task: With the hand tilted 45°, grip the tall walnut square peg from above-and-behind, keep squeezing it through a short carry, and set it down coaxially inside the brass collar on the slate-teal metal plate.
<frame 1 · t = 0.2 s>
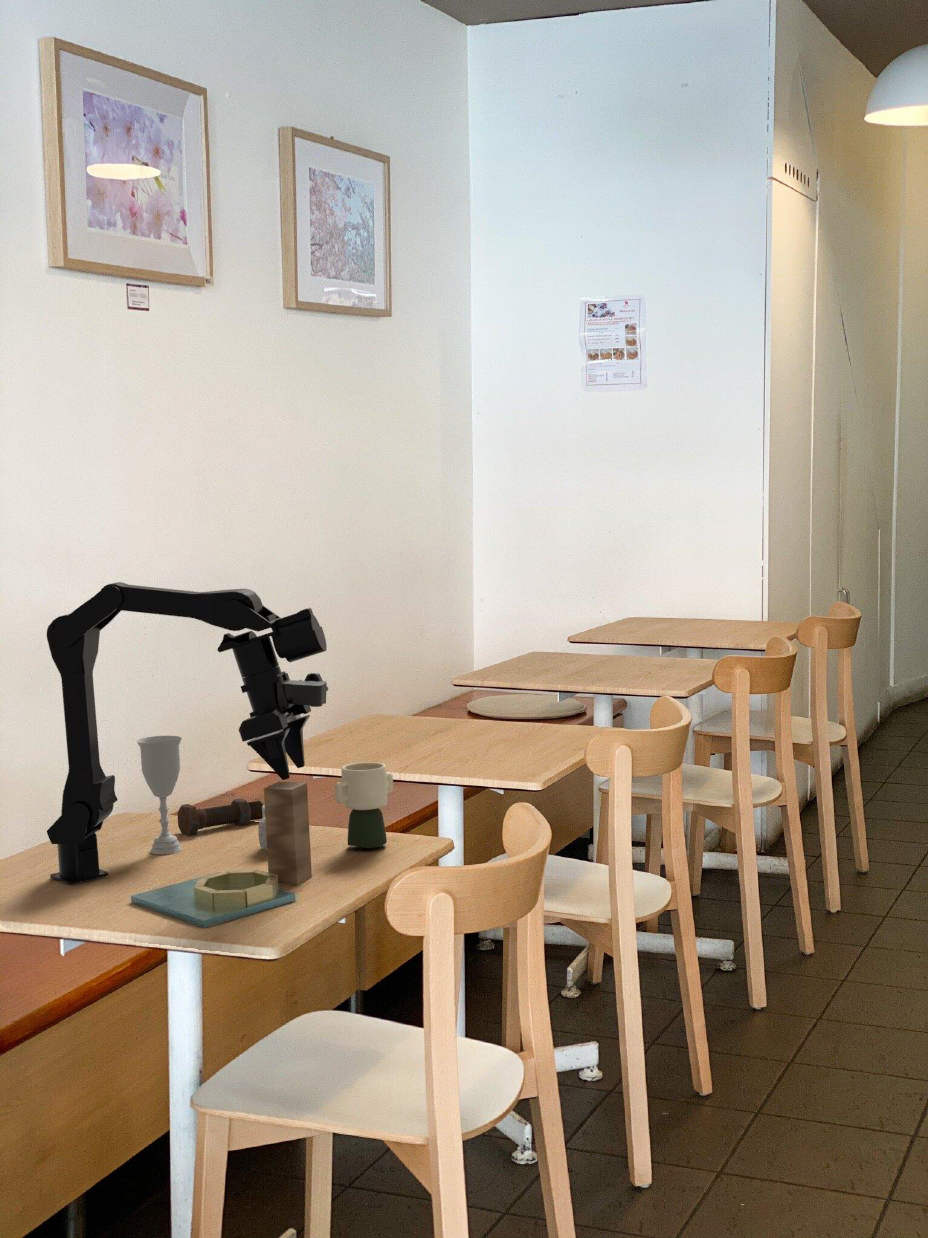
hand: (294, 773, 204), 15 cm above the table, tool tilted 15°, fingers open, 9 cm apart
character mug: (367, 848, 219), on the table
socket plate: (212, 901, 193), on the table
mug: (279, 850, 221), on the table
bolt: (225, 829, 237), on the table
chalice: (166, 851, 222), on the table
peg: (290, 880, 202), on the table
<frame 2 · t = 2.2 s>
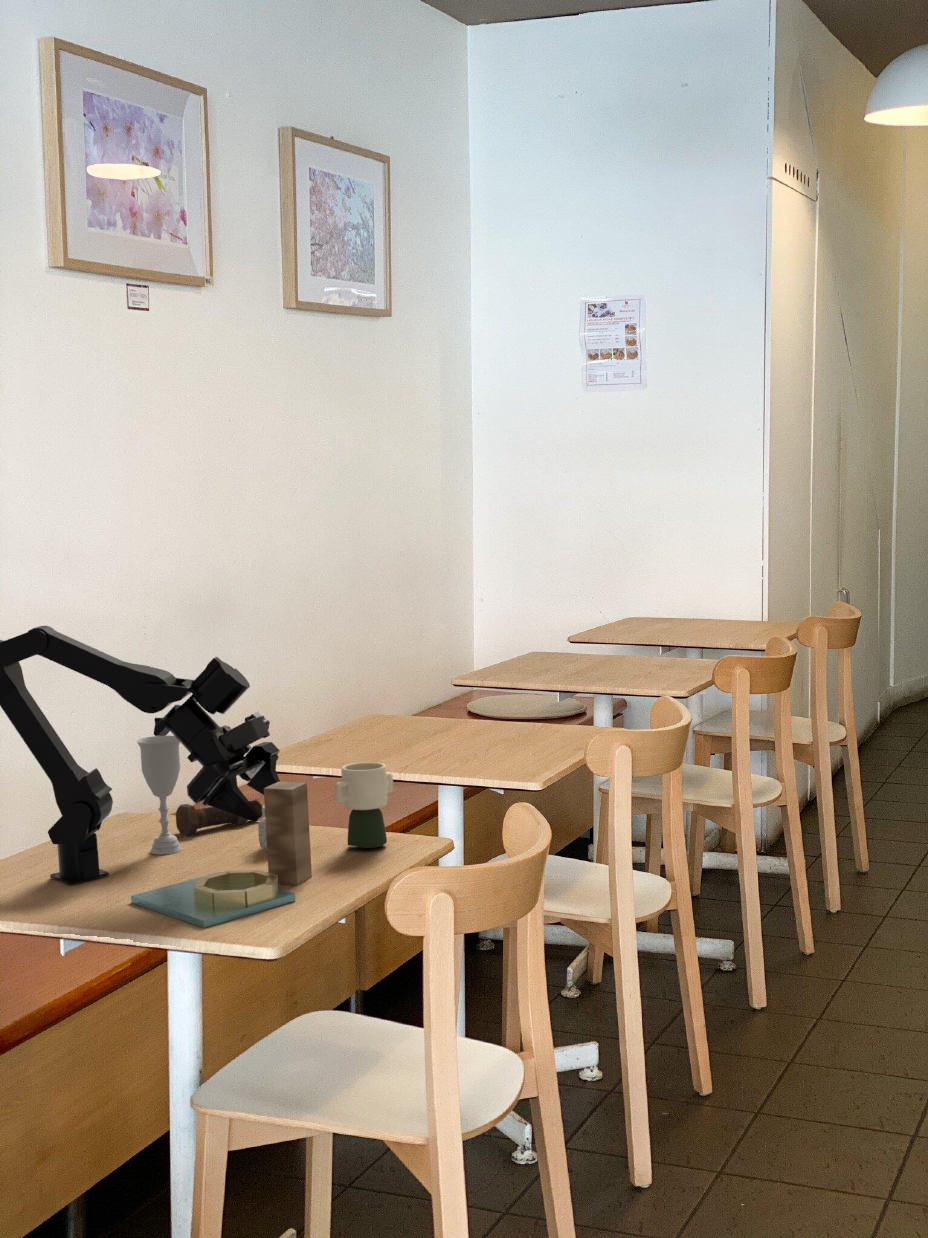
hand: (272, 812, 202), 10 cm above the table, tool tilted 45°, fingers open, 9 cm apart
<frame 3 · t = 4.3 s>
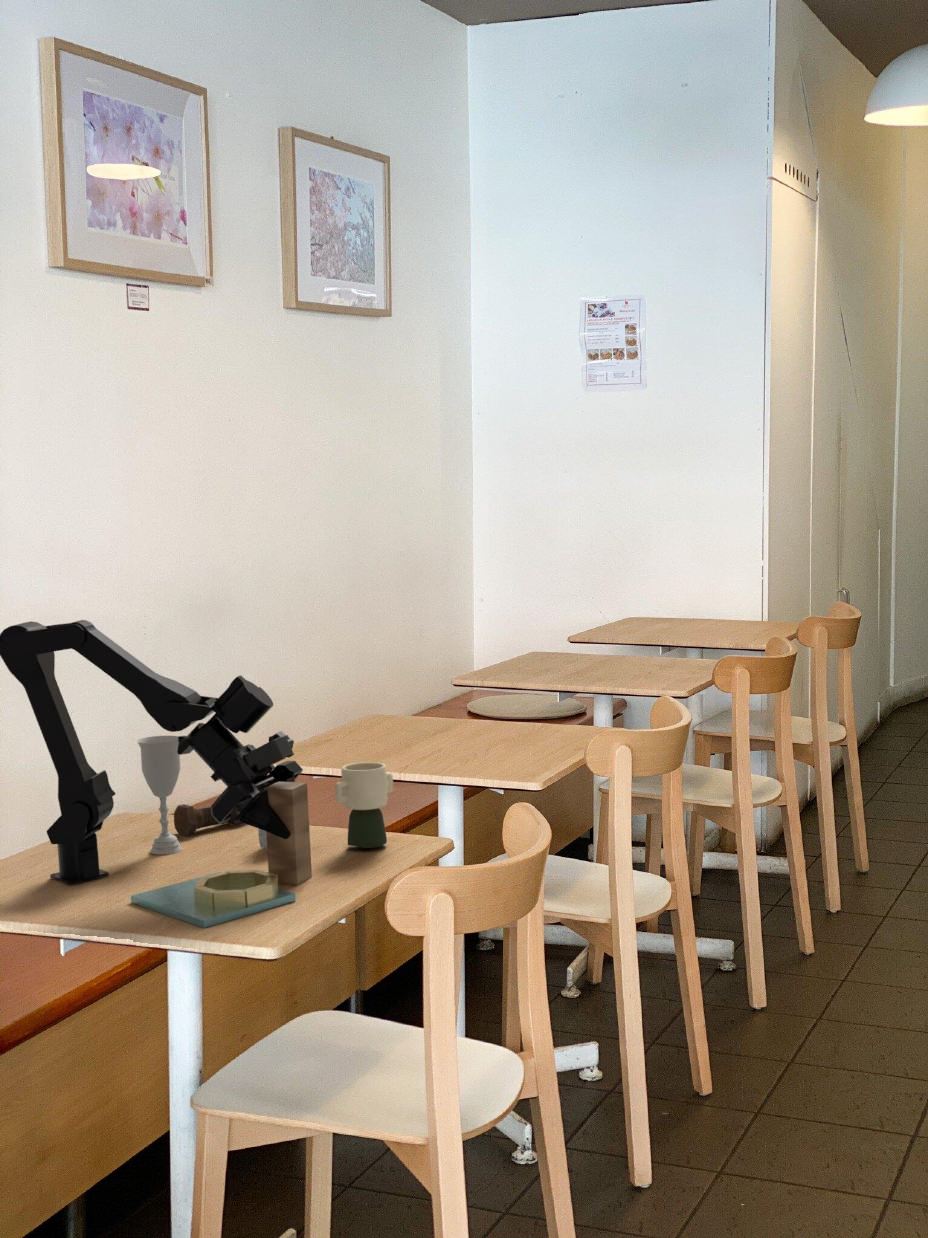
hand: (296, 832, 201), 7 cm above the table, tool tilted 45°, fingers closed on peg, 5 cm apart
peg: (290, 880, 202), on the table, touching gripper
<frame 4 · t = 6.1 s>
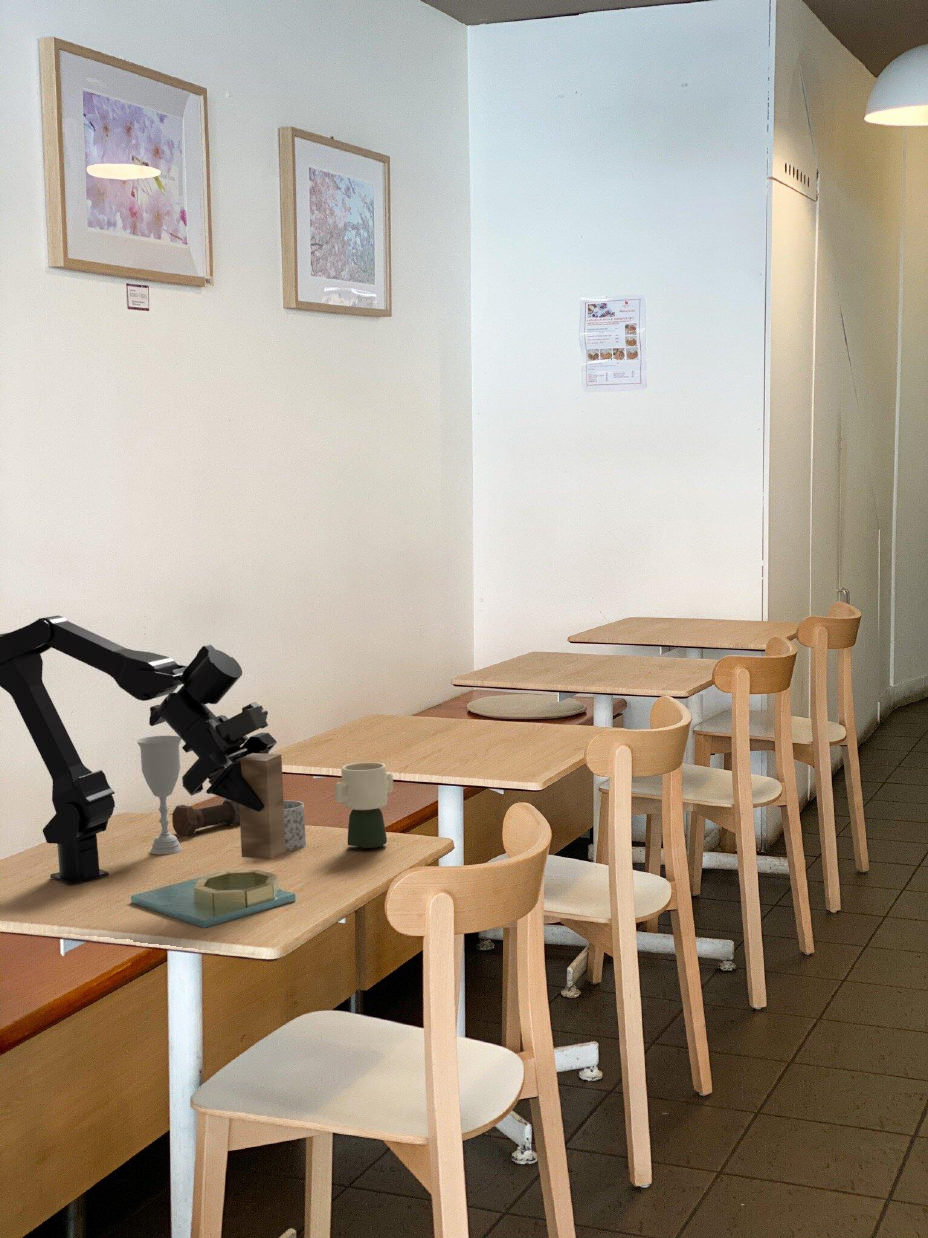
hand: (270, 805, 196), 12 cm above the table, tool tilted 45°, fingers closed on peg, 5 cm apart
peg: (263, 854, 197), point 5 cm above the table, touching gripper
when the fingers open (9 cm above the table, at t = 8.2 s): peg stays where it is, resting on socket plate.
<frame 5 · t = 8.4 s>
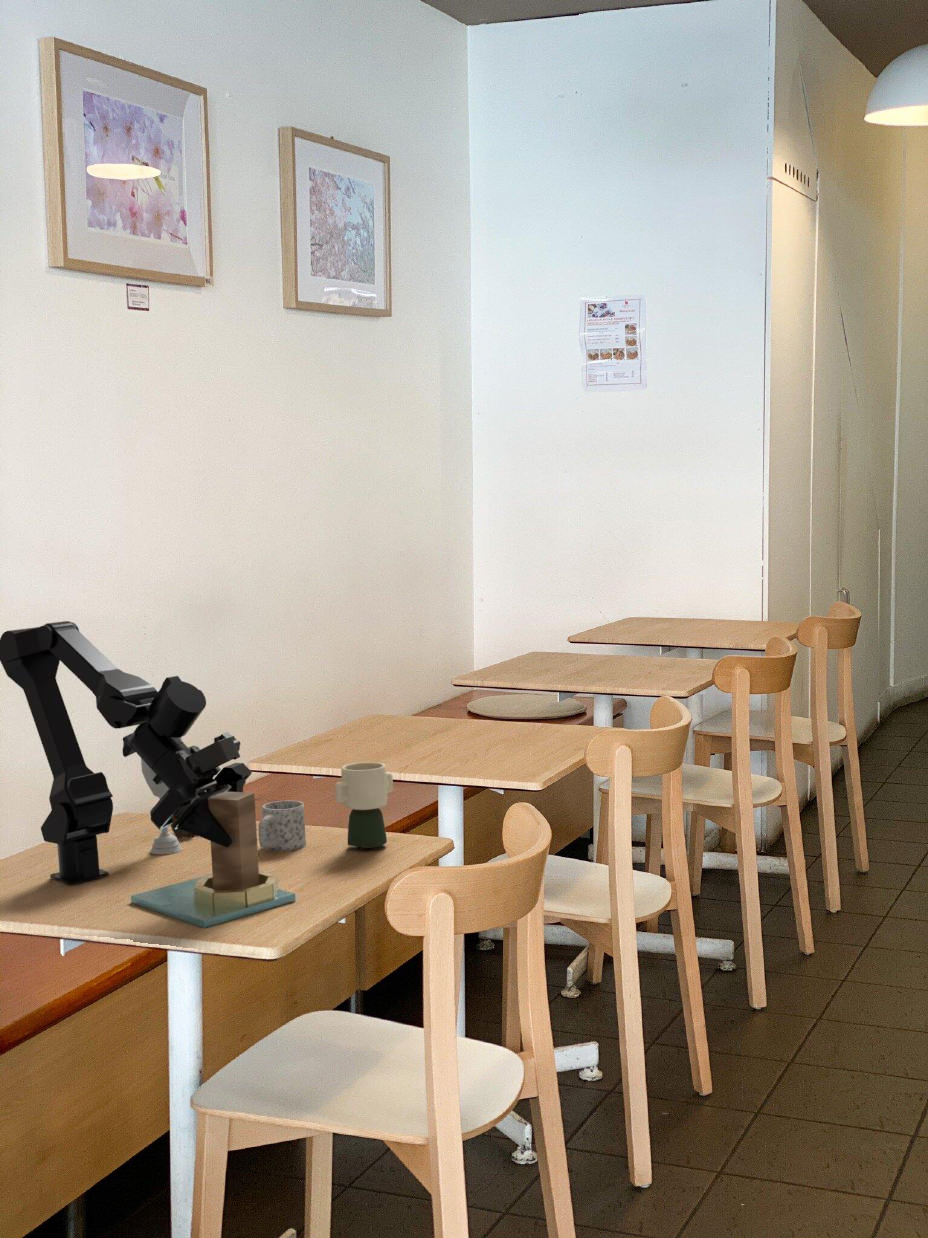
hand: (242, 839, 191), 9 cm above the table, tool tilted 45°, fingers open, 6 cm apart
peg: (237, 895, 192), point 1 cm above the table, touching socket plate
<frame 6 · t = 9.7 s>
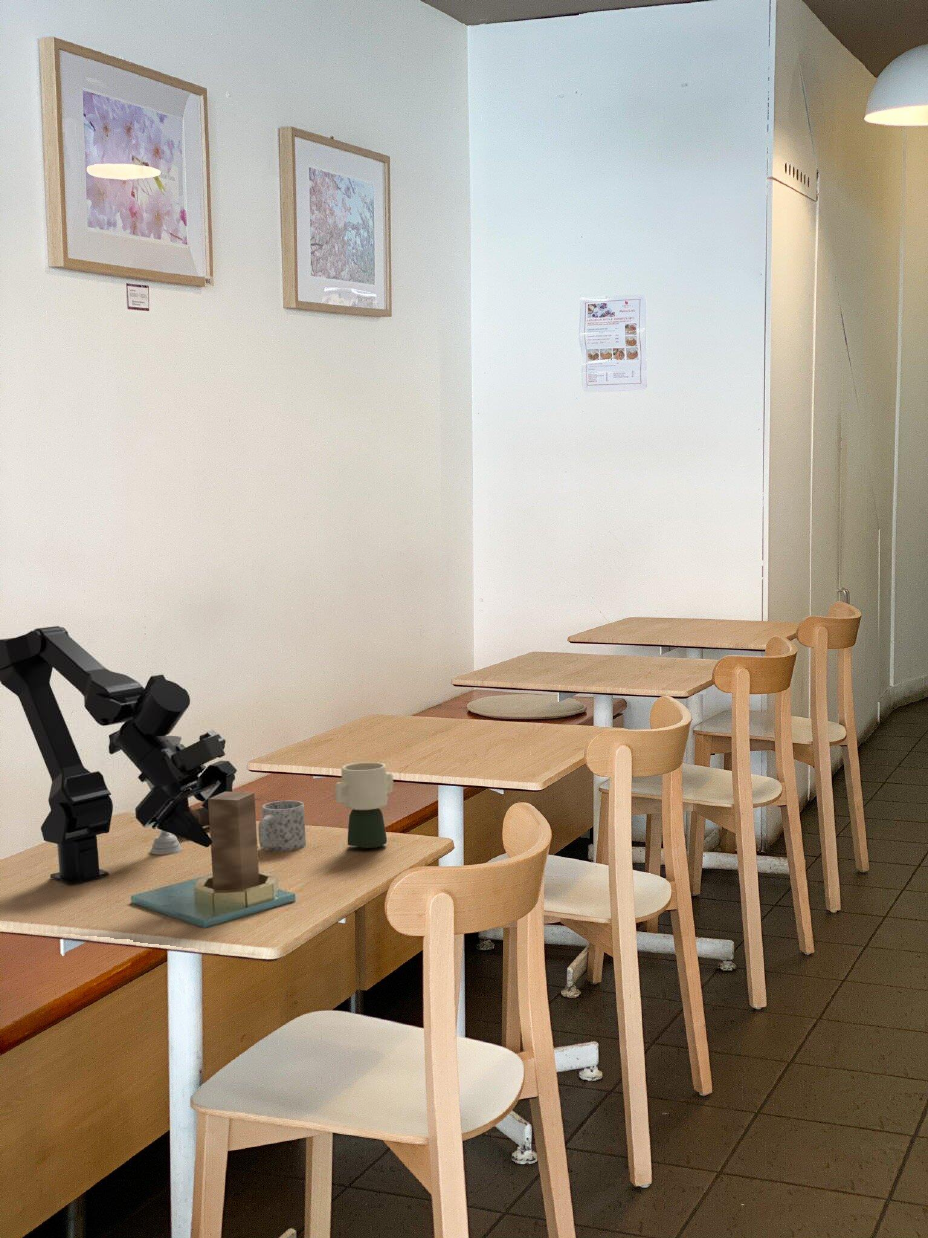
hand: (227, 836, 192), 9 cm above the table, tool tilted 45°, fingers open, 9 cm apart
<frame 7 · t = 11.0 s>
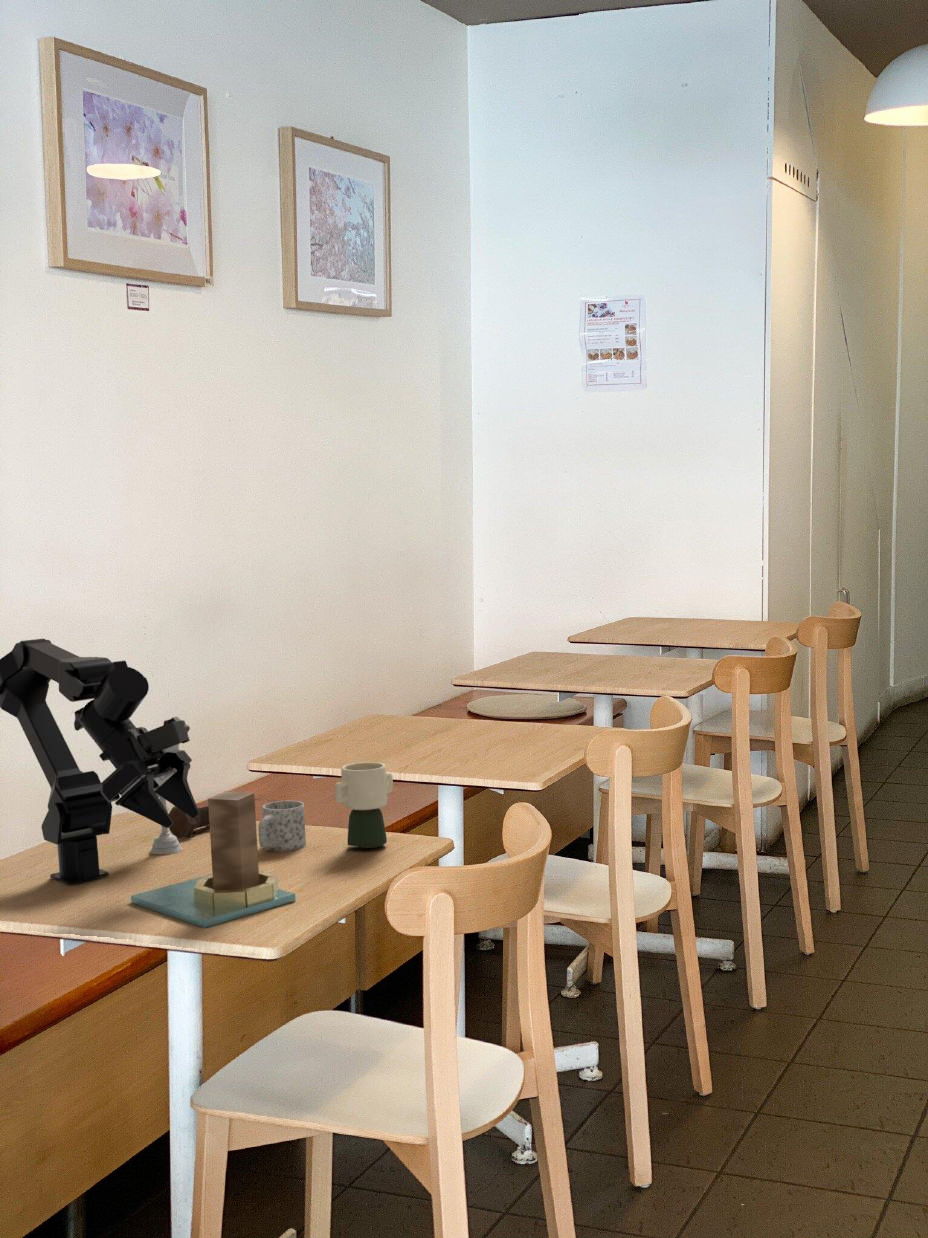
hand: (184, 821, 195), 11 cm above the table, tool tilted 40°, fingers open, 9 cm apart
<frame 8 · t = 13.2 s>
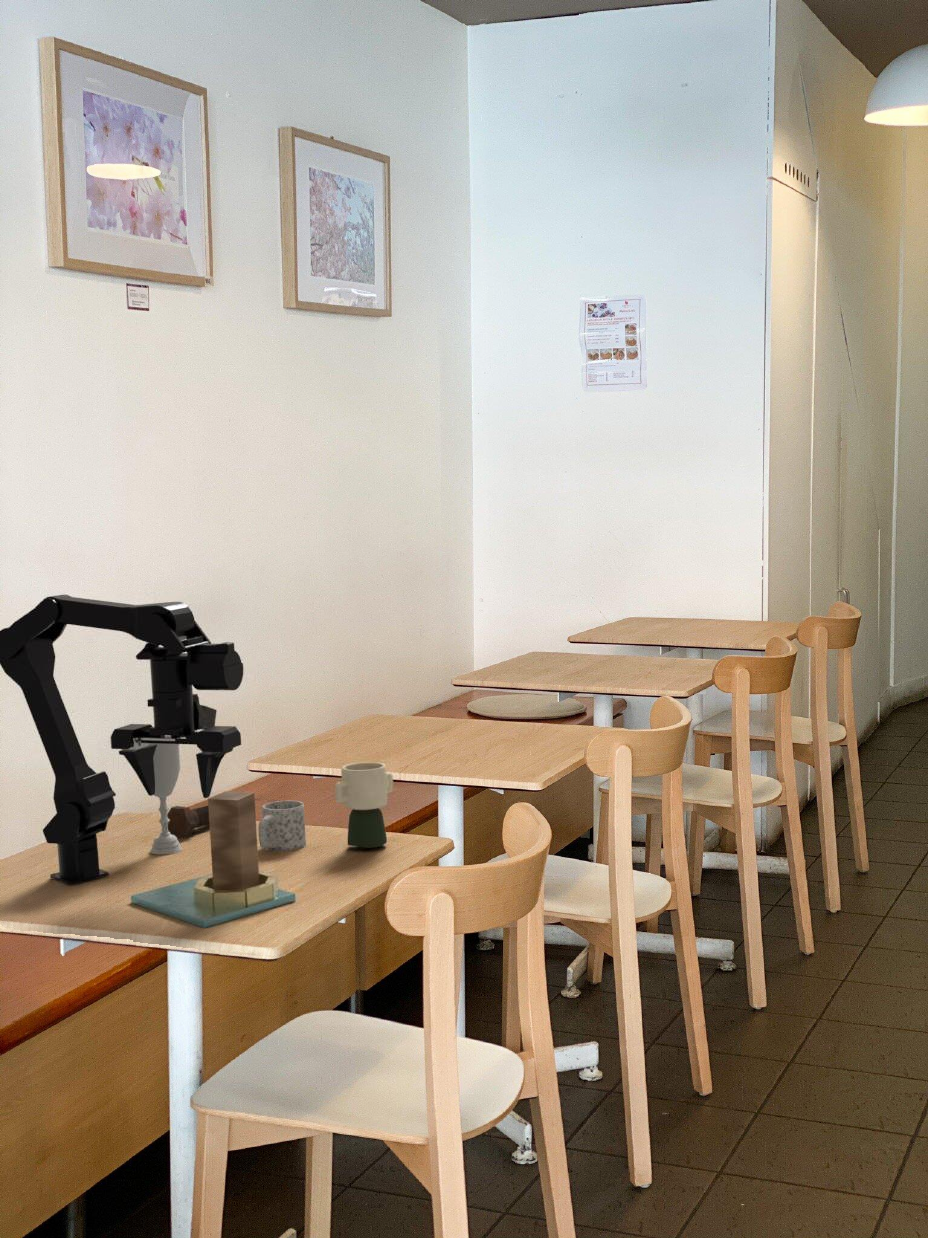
hand: (179, 796, 201), 13 cm above the table, tool pointing down, fingers open, 9 cm apart
at the end: peg 0.0 cm from the target spot on the socket plate, point 1.0 cm above the socket plate's base; peg tilted 0°; the gripper is holding nothing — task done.
